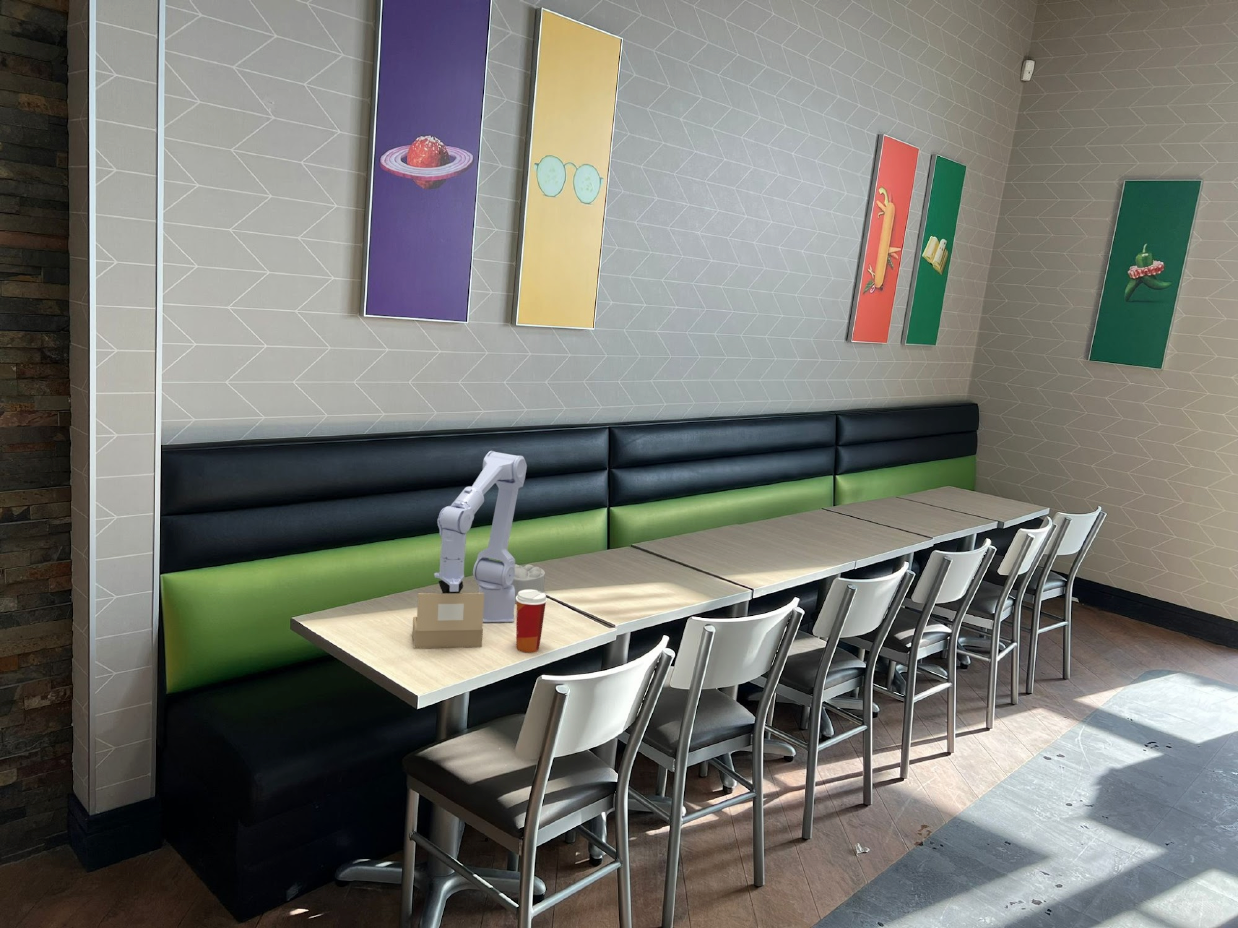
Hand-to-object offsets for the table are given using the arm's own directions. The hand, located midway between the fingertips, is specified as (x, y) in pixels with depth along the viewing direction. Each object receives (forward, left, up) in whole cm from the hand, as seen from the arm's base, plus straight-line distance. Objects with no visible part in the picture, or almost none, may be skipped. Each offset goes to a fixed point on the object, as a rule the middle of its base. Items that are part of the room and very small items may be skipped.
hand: (449, 610), depth 221 cm
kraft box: (0, -2, -9) cm, 9 cm away
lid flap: (0, +2, 0) cm, 2 cm away
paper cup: (-19, +4, -9) cm, 21 cm away
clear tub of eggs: (-25, -33, -9) cm, 42 cm away
